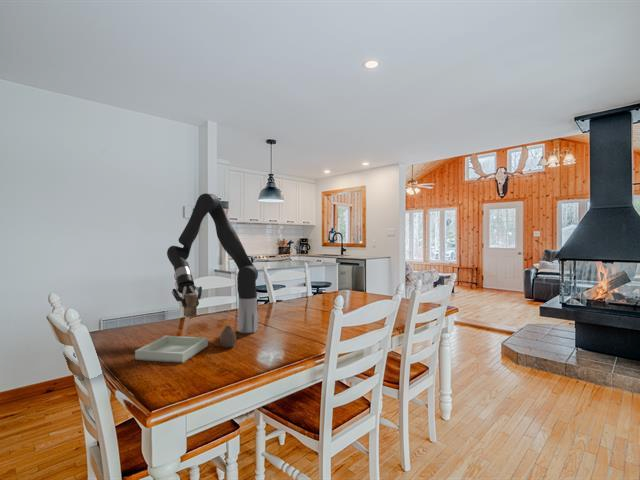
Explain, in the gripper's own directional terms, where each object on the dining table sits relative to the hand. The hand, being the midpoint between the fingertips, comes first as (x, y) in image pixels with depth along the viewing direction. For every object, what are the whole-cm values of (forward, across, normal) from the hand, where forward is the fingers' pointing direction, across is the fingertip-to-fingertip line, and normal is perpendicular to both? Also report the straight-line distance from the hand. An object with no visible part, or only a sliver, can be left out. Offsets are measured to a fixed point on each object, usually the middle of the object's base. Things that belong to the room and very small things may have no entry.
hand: (191, 306), depth 155 cm
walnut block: (+2, 0, +5) cm, 5 cm away
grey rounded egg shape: (+24, +10, -2) cm, 27 cm away
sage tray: (+20, -11, +2) cm, 23 cm away
